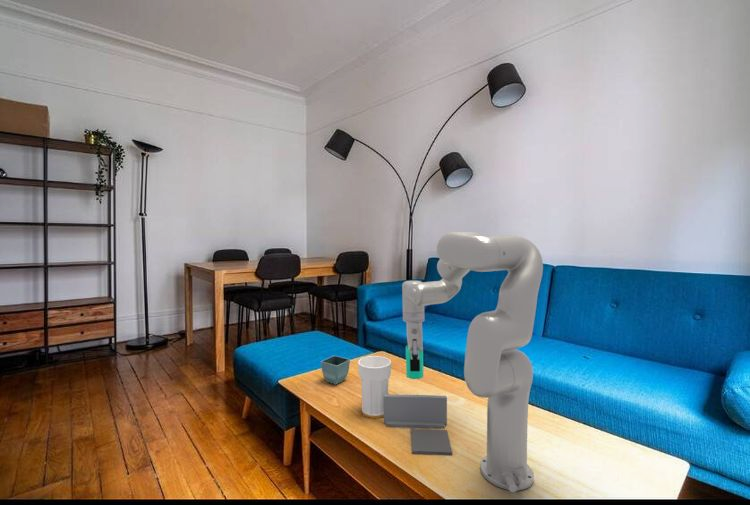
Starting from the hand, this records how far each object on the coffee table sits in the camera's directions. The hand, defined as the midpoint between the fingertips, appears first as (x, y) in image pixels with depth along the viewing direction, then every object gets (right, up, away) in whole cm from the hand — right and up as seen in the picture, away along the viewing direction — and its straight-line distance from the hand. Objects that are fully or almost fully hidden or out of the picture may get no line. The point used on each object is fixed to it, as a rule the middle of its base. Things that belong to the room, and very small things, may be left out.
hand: (414, 367), depth 123 cm
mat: (+2, -15, -21) cm, 26 cm away
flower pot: (-30, -13, +22) cm, 39 cm away
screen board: (-1, -14, -10) cm, 18 cm away
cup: (-14, -14, -3) cm, 20 cm away
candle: (0, -3, 0) cm, 3 cm away
